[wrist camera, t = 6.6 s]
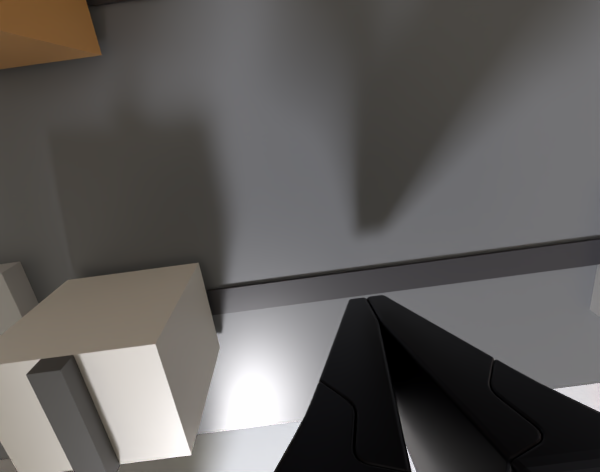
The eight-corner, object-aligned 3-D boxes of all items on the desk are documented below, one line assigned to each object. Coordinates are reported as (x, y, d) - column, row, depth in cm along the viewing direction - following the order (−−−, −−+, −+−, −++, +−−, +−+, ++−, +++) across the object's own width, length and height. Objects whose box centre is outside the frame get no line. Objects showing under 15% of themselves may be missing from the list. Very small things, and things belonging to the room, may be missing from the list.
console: (586, 341, 14) (652, 394, 12) (-22, 420, 14) (-88, 488, 12) (713, -355, 8) (920, -574, 5) (-382, -193, 8) (-690, -329, 5)
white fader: (219, 347, 11) (186, 474, 7) (100, 363, 11) (6, 496, 7) (198, 262, 10) (147, 358, 6) (67, 279, 10) (-61, 385, 6)
